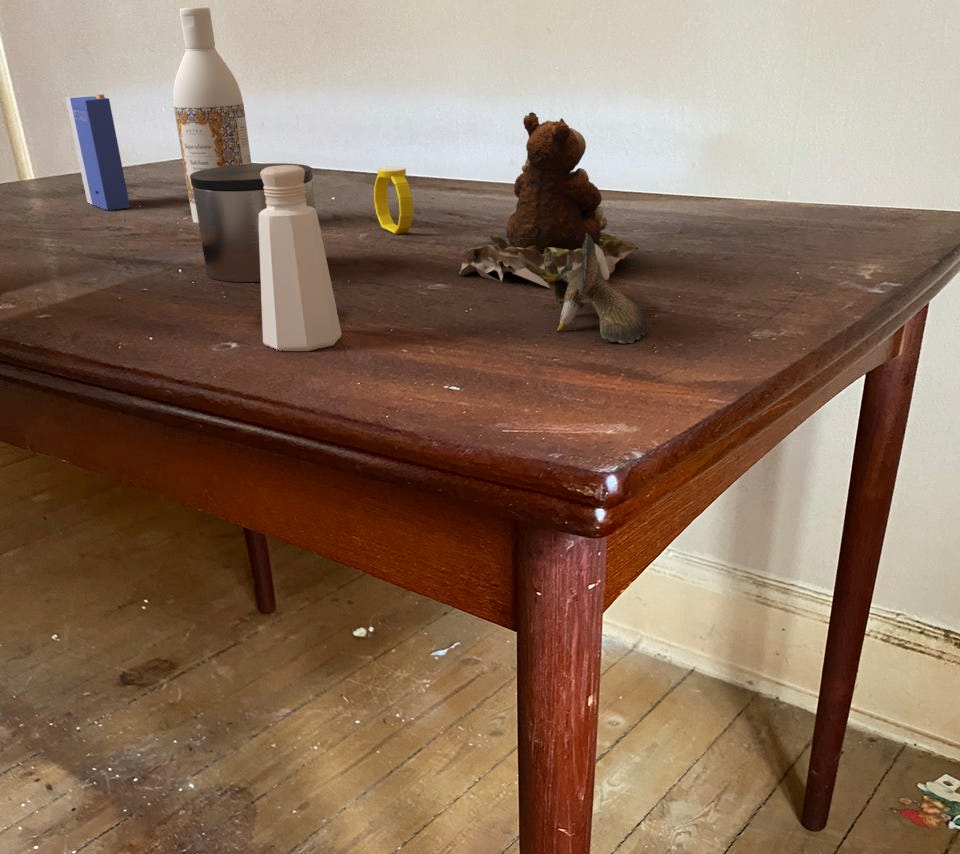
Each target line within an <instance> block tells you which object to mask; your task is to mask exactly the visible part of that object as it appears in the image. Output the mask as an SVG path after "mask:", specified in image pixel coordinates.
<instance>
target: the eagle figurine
mask: <svg viewBox="0 0 960 854" xmlns="http://www.w3.org/2000/svg"><path fill="white" fill-rule="evenodd" d="M585 236H586V238H585V240H584V243H583V245H582V246H583V248H581V251H582V256H583V259H584V260H583V262H582V264H581V266H579V267H578V268H576V269H575V270H571V269H572V268H573V263H572V257H570V256H569V255H567V262H566V264H565V266H564V268H563V270H562V271H561V274H559V273H558V269H557V264H556V261H555V259H554V256H553V253H552V251H549V253H547V254H546V256H545V259H544V267H545V268H544V269H542V268H540V267H538V266H537V265H535V264H534V263H532V262H531V261H529V260H528V259H527V257H526V256H524V255H523V254H522V253H518V257H519V259H520V261H521V262H522V264H523V266H524V267H525V268H526V269H528V270H529V271H530V272H532V273H534V274H536V275H538V276H539V277H540V278H542V279H543V280H544V281H545V282H547V284H548V285H549V287H550V288H549V289H551V291H552V292H553V293H554V296H555V301H556V302H557V303H558V306H559V307H561V308H562V309H561V312H560V319H559V325H558V327H557V328H556V331H557V332H561V331H562V330H563V329H565V327H567V326H570V325H571V324H572V323H573V321H574V320H575V317H576V315H577V313H578V311H579V310H580V309H581V308H582V307H584V306H586V305H587V306H591V307H593V309H594V310H595V312H596V314H597V316H598V320H599V334H600V336H601V339H603V340H608V341H610V342H612V343H616V342H617V343H620V344H623V345H624V344H625V345H626V344H628V343H629V344H632V343H634V342H635V341H636V340H637V341H639V340H640V339H642V336H646V332H648V331H649V329H648V328H649V326H648V324H649V323H648V321H647V316H645V314H644V313H643V311H642V310H641V308H640V306H639V305H637V303H636V302H635V301H634V300H633V299H631V297H629V296H628V295H627V294H625V293H624V292H623V291H620V290H619V289H617V288H616V287H615V286H613V285H612V284H610V283H609V282H608V280H609V279H610V274H609V270H608V267H607V263H606V259H605V257H604V253H603V251H602V250H601V249H600V248H599V247H598V246H597V245H596V244H594V241H593V239H592V237H591V236H589V235H588V234H587V233H586V235H585Z"/></svg>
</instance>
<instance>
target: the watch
mask: <svg viewBox="0 0 960 854" xmlns="http://www.w3.org/2000/svg"><path fill="white" fill-rule="evenodd" d="M406 176H407V170H406V167H404V166H401V165H400V166H399V165H398V166H397V165H390V166H389V165H388V166H381V167H378V168H377V176H376V178H375V183H374V187H373V188H374V189H373V199H374V200H373V201H374V208H375V214H376V217H377V219H378V222H379V224H380V226H381V228H382V229H384V230H386V231H389V232H390V233H392V234H394V235H400V234H407V233H408V231H409V229H410V228H411V226H412V222H413V217H414V203H413V202H414V201H413V194H412V192H411V188H410V184H409V182H408V180H407V179H406ZM390 179H391V182H392V183H393V185H394V187H395V190H396V195H397V198H398V208H399V210H398V211H399V216H398V222H397V223H398V224H395V222H394V220H393V218H392V216H391V213H390V207H389V202H388V186H389V182H390Z"/></svg>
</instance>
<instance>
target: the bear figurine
mask: <svg viewBox="0 0 960 854" xmlns="http://www.w3.org/2000/svg"><path fill="white" fill-rule="evenodd" d="M522 121H523V123H522V124H523V126H524V129H525V130H526V132H527V134H528V139H527V142H526V147H525V149H526V151H527V156H526V160H525V163H524V164H523V165H522V166H521V171H522V173H520V174H519V175H518V176H517V177H516V178H515V181H514V185H513V186H514V187H513V193H514V195H515V196H516V198H518V199H517V202H516V206H515V207H516V208H515V209H516V210H515V212H513V213H512V214H511V215H510V216H509V217H508V219H507V222H506V224H507V226H506V239H507V241H508V242H507V241H506V240H505V239H503V238H502V236H500V235H499V234H492V235H490V236H489V238H490V240H491V241H492V242H494V243H495V244H493V245H492V244H482V245H479V246H475V247H472V248H468V249H466V250H465V251H464V252H463V253H462V258H463V259H464V260H465V261H463V262H462V263H461V268H460V271H459V272H458V273H459V274H460V275H462V271H463V270H464V269H465V268H471V269H474V270H475V271H476V272H477V273H478V274H479V275H480V276H481V277H482V278H486V279H490V280H493V281H496V282H499V283H502V281H503V278H504V275H505V273H508V272H509V273H510V272H511V274H512V275H516V276H518V277H521V278H524V279H526V280H529V281H531V282H534V283H536V284H539V285H541V286H544V287H546V288H548V289H551V288H550V287H549V285H548V284H547V282H545V281H544V280H543V279H542V278H540V277H539V276H538V275H536V274H534V273H532V272H530V271H529V270H528V269H526V268H525V267H524V266H523V264H522V262H521V261H520V259H519V257H518V253H522V254H523V255H524V256H526V257H527V259H528V260H529V261H531V262H532V263H534V264H535V265H537V266H538V267H540V268H542V269H544V268H545V267H544V259H545V256H546V254H547V253H549V251H552V253H553V256H554V259H555V261H556V264H557V269H558V273H559V274H561V271H562V270H563V268H564V266H565V264H566V262H567V255H569V256H570V257H572V263H573V268H572V269H571V270H575V269H576V268H578V267H579V266H581V264H582V262H583V260H584V259H583V256H582V251H581V248H583V246H582V245H583V243H584V240H585V238H586V236H585V235H586V233H587V234H588V235H589V236H591V237H592V239H593V241H594V244H596V245H597V246H598V247H599V248H600V249H601V250H602V251H603V253H604V257H605V259H606V263H607V267H608V270H609V275H611V274H612V273H613V272H614V271H615V269H616V264H617V263H618V262H619V261H620V260H624V259H625V258H626V256H627V255H628V254H630V253H631V252H632V251H633V250H636V251H638V250H639V249H640V248H639V246H638V245H637V244H635V243H633V242H630V241H627V240H623V239H620V238H618V237H617V236H616V235H611V234H608V233H605V232H601V231H603V230H605V229H606V228H607V225H608V220H607V217H606V216H605V215H604V209H603V208H602V206H600V205H601V204H602V194H601V192H600V190H599V188H598V186H596V185H595V184H594V183H593V182H591V181H590V177H589V174H588V172H587V171H586V169H584V168H581V167H578V168H577V169H576V170H575V168H576V167H577V166H578V165H579V164H580V161H581V160H582V158H583V156H584V154H585V152H586V149H587V142H586V140H585V138H584V136H583V134H582V133H580V131H578V130H576V129H574V128H573V127H571V128H570V125H568V124H567V123H566V122H565V120H564V118H562V117H561V118H560V119H559V120H555V121H551V120H546V121H545V122H542V123H540V121H539V117H538V116H537V113H535V112H529V113H528V115H524V117H523V119H522ZM493 271H495V272H497V274H498V277H499V279H497V278H495V277H493V276H492V275H489V273H490V272H493Z"/></svg>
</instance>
